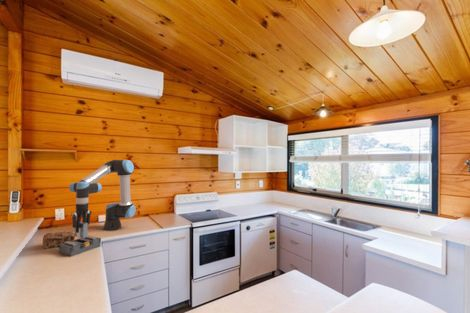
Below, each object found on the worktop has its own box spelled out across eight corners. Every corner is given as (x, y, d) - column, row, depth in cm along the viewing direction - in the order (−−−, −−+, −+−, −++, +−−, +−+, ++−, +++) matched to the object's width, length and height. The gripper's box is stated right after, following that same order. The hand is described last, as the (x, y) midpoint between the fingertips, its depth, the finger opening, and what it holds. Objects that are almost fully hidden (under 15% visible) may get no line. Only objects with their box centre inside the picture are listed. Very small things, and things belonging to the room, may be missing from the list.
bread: (41, 250, 165) (42, 236, 165) (44, 245, 174) (45, 231, 175) (73, 245, 174) (74, 232, 175) (75, 241, 184) (75, 228, 184)
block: (87, 236, 167) (87, 222, 167) (83, 238, 164) (83, 223, 165) (79, 235, 171) (79, 221, 171) (74, 236, 168) (75, 222, 168)
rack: (88, 243, 180) (89, 234, 180) (101, 246, 174) (101, 236, 174) (59, 253, 160) (59, 242, 161) (71, 256, 155) (72, 246, 155)
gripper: (89, 201, 177) (88, 232, 176) (67, 204, 162) (65, 238, 162) (96, 202, 174) (95, 233, 173) (74, 205, 159) (72, 240, 159)
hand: (80, 236), depth 168 cm, fingers closed on block, 3 cm apart
